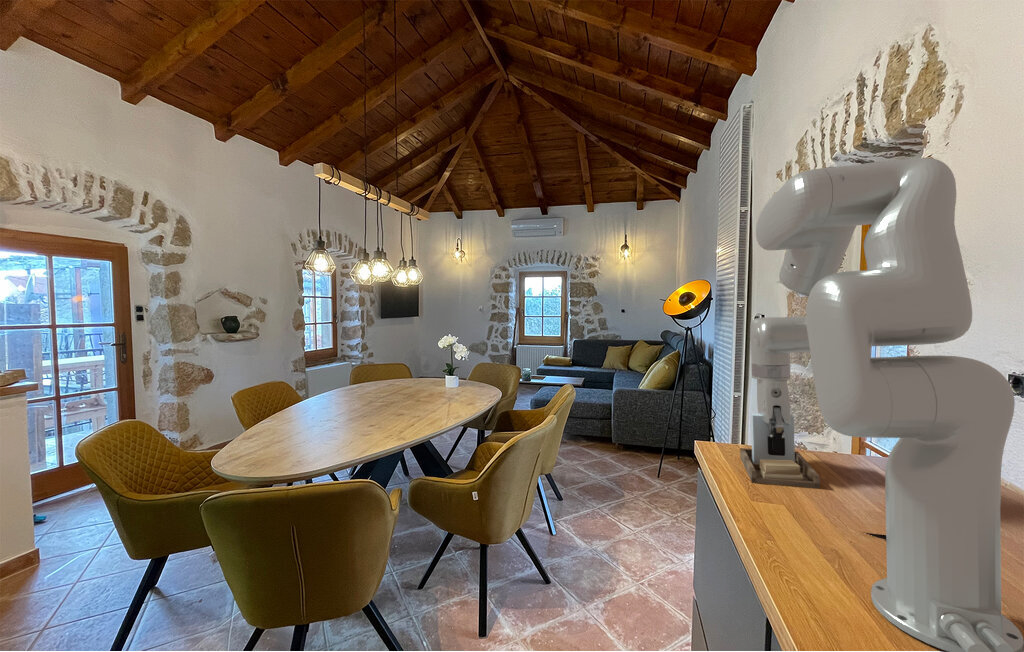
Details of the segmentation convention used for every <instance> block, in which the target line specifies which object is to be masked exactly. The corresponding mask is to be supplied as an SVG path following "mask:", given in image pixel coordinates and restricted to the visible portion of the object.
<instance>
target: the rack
mask: <svg viewBox="0 0 1024 652" xmlns="http://www.w3.org/2000/svg"><path fill="white" fill-rule="evenodd" d="M739 450H740V451H739V452H740V453H739V454H740V461H741V463H742V466H743V467H744V469H745V471H746V474H747V475H748V477H749V479H750V481H751V483H752V484H761V485H770V486H771V485H773V486H785V487H786V486H787V487H794V488H796V487H797V488H806V489H819V490H820V489H821V481H820V480H821V478H820V477H821V476H820V475H819V474H818V472H817V471H815V469H814V468H813V467H812V465H811V464H810V463H808V461H807V460H806V459H805V458H804V456H802V454H800V452H799V451H795V463H796V464H798V465H799V466H800V473H801V474H802V475H803V481H800V480H788V479H776V478H764V477H762V476H761V468H760V463H752V448H742V447H740V449H739Z"/></svg>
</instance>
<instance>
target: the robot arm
mask: <svg viewBox="0 0 1024 652" xmlns="http://www.w3.org/2000/svg"><path fill="white" fill-rule="evenodd" d="M956 184H957V183H956V178H955V175H954V173H953V171H952V169H951V168H950V166H949V165H948V164H946V163H945V162H944V161H942V160H939V159H937V158H933V157H917V158H916V157H915V158H906V159H896V160H887V161H886V160H885V161H877V162H868V163H867V162H865V163H859V164H850V165H842V166H833V167H832V166H831V167H822V168H821V167H820V168H815V169H814V168H813V169H807V170H803V171H801V172H799V173H796V174H794V175H793V176H791V177H790V178H789V179H788V180H787V181H786V182H785V183H784V184H783V185H781V186H780V188H779V189H778V190H777V191H776V192H775V193H774V194H773V195H772V196H771V197H770V199H769V200H768V201H767V203H766V204H765V205H764V206H763V207H762V210H761V211H760V214H759V216H758V219H757V221H756V222H757V223H756V227H755V237H756V241H757V245H758V246H759V247H760V248H762V249H763V250H766V251H785V250H786V251H785V255H784V258H783V261H782V264H781V267H780V271H779V274H778V276H779V277H778V278H779V281H780V283H781V284H782V285H783V286H784V287H785V288H787V289H788V290H790V291H791V292H794V293H796V294H798V295H802V296H805V297H808V298H807V301H806V307H805V315H801V316H800V315H799V316H785V317H784V316H783V317H782V316H781V317H780V316H778V317H777V316H776V317H775V316H774V317H758V318H756V317H755V318H754V319H752V320H751V321H750V325H749V327H750V329H749V330H750V351H751V352H750V353H751V354H750V358H751V359H750V360H751V362H750V363H751V378H752V379H754V380H756V401H757V402H756V405H757V413H760V414H761V415H762V418H763V421H764V422H765V423H767V424H768V431H769V436H767V439H768V454H769V455H777V456H785V436H784V425H783V422H784V423H785V424H786V425H790V424H791V415H792V414H791V403H790V401H791V400H790V392H789V386H788V385H789V384H788V380H790V381H791V354H796V353H797V354H799V353H801V354H802V353H810V354H809V355H810V361H811V367H812V373H813V382H814V389H815V394H816V395H815V396H816V400H817V405H818V408H819V411H820V414H821V417H822V418H823V420H824V421H825V423H826V425H828V427H829V428H831V429H832V430H833V431H835V432H836V433H838V434H841V435H844V436H848V437H854V438H873V439H874V438H875V439H876V438H878V439H879V438H880V439H884V438H885V439H886V438H887V439H889V438H891V439H897V438H898V440H897V441H896V443H895V444H894V446H893V447H892V449H891V451H890V452H889V455H888V457H887V460H886V464H885V468H884V469H885V470H884V473H885V474H884V478H885V479H884V480H885V481H884V483H885V484H884V486H885V487H884V488H885V491H884V493H885V494H884V495H885V499H884V500H885V535H886V540H885V543H886V546H885V547H886V549H885V550H886V577H885V578H882V579H879V580H877V581H875V582H874V583H873V584H872V585H871V590H870V592H871V593H870V595H871V601H872V603H873V605H874V607H875V608H876V610H877V611H878V612H879V613H880V614H881V615H882V616H883V617H884V618H885V619H886V620H887V621H888V622H890V623H891V624H892V625H894V626H895V627H897V628H898V629H899V630H901V631H903V632H904V633H907V634H908V635H909V636H911V637H913V638H915V639H917V640H919V641H922V642H923V643H926V644H928V645H930V646H933V647H935V648H937V649H939V650H942V651H945V652H1024V636H1023V635H1022V632H1021V631H1020V629H1019V628H1018V627H1017V626H1016V625H1015V624H1014V623H1013V622H1012V621H1011V620H1010V619H1009V618H1007V616H1005V615H1004V614H1002V549H1001V548H1002V544H1001V541H1002V540H1001V533H1002V531H1001V529H1002V528H1001V527H1002V526H1001V525H1002V524H1001V523H1002V522H1001V521H1002V520H1001V503H1002V502H1001V501H1002V499H1001V498H1002V497H1001V496H1002V495H1001V493H1002V492H1001V491H1002V489H1001V487H1002V486H1001V485H1002V484H1001V483H1002V482H1001V481H1002V464H1003V455H1004V450H1005V445H1006V442H1007V438H1008V434H1009V431H1010V428H1011V425H1012V422H1013V417H1014V414H1015V407H1016V406H1015V402H1016V401H1015V395H1014V391H1013V388H1012V387H1011V384H1010V382H1009V381H1008V380H1007V378H1006V377H1005V376H1004V374H1003V373H1002V372H1000V371H999V370H998V369H996V368H995V367H993V366H991V365H990V364H988V363H986V362H983V361H980V360H978V359H973V358H969V357H963V356H957V355H942V354H941V355H939V354H938V355H906V356H905V355H904V356H903V355H901V356H886V357H885V356H883V357H880V356H878V357H875V356H874V357H872V356H871V355H872V354H871V347H890V346H894V347H896V346H919V345H920V346H922V345H936V344H945V343H947V342H952V341H955V340H957V339H959V338H961V337H962V336H964V335H965V334H966V333H967V332H969V329H970V328H971V325H972V321H973V307H972V306H973V305H972V298H971V293H970V289H969V285H968V280H967V276H966V271H965V266H964V261H963V257H962V252H961V247H960V243H959V239H958V237H957V231H956V230H957V229H956V225H955V217H956V216H955V215H956V214H955V212H956V206H957V205H956V203H957V185H956ZM865 225H866V226H867V225H870V227H869V228H868V230H867V232H866V235H865V237H864V240H863V249H864V250H863V251H864V257H865V262H866V269H867V270H864V269H863V270H849V271H841V272H840V271H839V270H840V269H839V268H840V266H841V264H842V262H843V259H844V257H845V255H846V252H847V249H848V247H849V245H850V243H851V241H852V238H853V235H854V233H855V231H856V228H857V226H865ZM782 417H783V419H782ZM770 421H775V423H771V422H770ZM772 426H775V427H773V430H772Z"/></svg>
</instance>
